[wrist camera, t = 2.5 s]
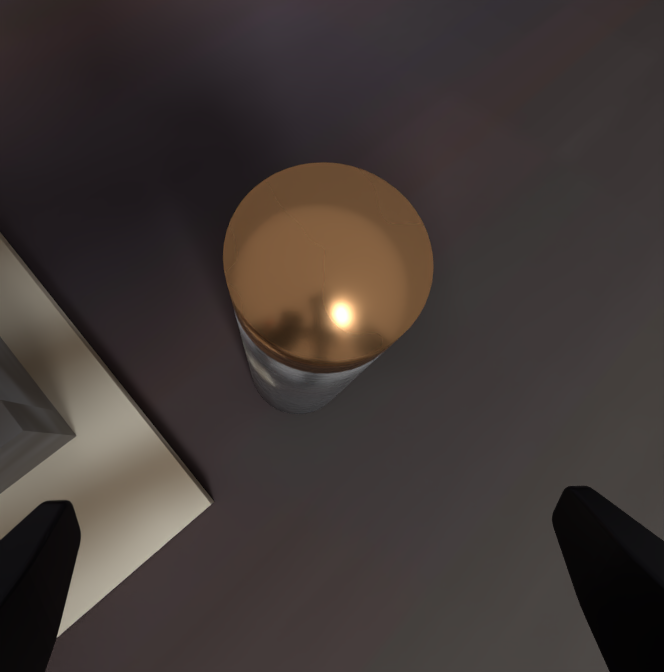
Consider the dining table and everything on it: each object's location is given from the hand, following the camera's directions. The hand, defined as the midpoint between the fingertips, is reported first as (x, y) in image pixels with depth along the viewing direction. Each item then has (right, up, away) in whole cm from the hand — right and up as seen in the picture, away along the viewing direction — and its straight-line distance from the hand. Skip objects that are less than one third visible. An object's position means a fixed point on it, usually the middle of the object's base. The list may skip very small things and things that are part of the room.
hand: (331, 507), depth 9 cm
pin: (-1, +2, +12) cm, 12 cm away
